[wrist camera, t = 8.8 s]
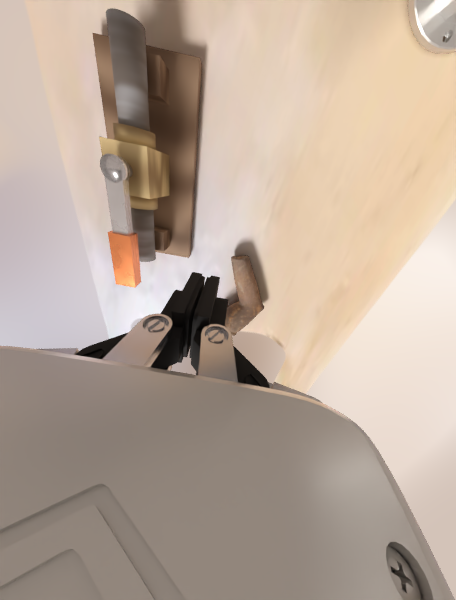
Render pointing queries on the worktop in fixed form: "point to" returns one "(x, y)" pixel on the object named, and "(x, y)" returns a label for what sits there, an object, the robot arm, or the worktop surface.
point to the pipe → (243, 296)
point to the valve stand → (151, 131)
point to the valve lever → (121, 221)
